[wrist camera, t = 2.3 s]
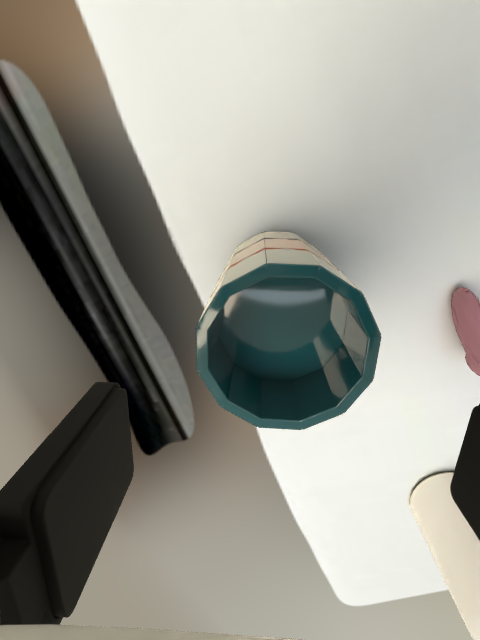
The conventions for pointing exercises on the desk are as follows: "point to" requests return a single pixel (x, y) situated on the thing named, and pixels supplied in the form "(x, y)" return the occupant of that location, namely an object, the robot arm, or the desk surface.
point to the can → (450, 544)
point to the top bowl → (286, 340)
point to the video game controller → (468, 325)
